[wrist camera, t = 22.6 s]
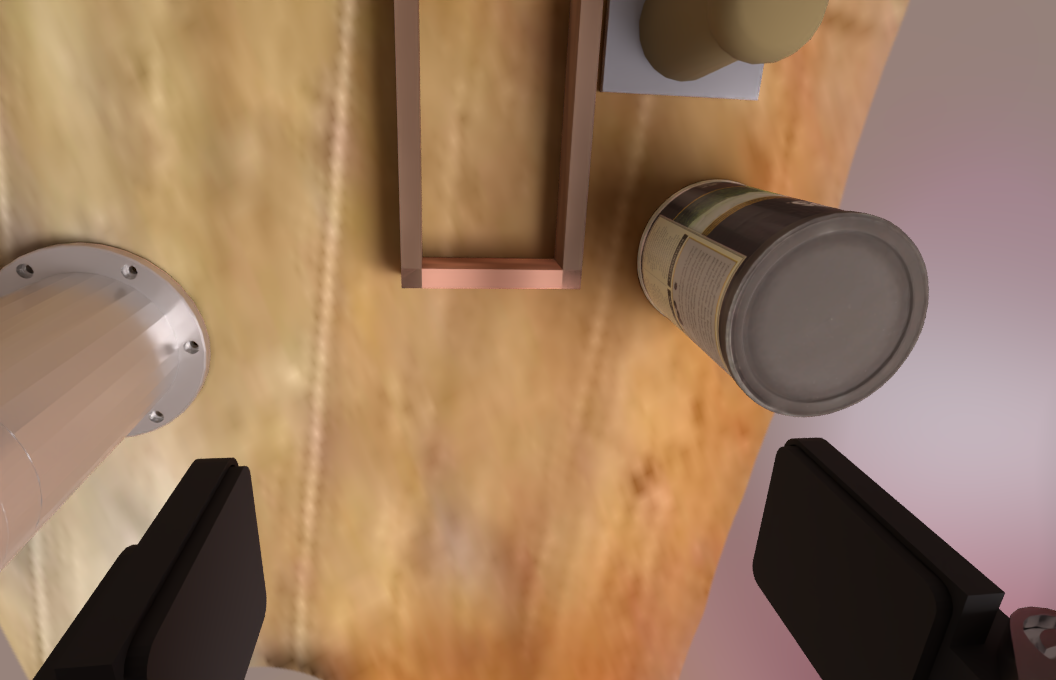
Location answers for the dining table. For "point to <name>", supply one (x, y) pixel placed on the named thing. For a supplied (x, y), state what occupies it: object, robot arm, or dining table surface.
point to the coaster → (636, 75)
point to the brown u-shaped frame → (571, 176)
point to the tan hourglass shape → (723, 33)
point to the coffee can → (786, 292)
